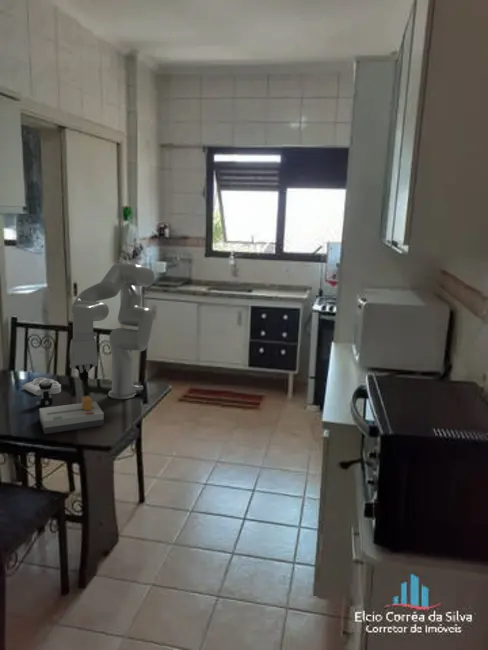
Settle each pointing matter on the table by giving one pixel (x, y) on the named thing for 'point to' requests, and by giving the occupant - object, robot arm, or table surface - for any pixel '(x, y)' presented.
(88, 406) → the lever
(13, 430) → the table surface
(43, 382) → the push button
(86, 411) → the switch panel
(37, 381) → the knuckle duster
